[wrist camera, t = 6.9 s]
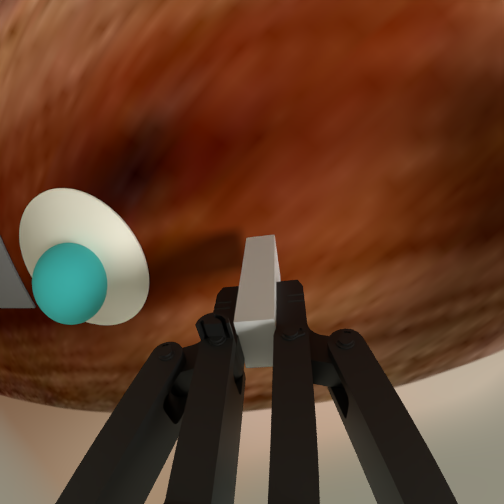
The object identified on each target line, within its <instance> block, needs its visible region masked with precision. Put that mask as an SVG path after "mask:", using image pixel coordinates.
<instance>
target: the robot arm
mask: <svg viewBox="0 0 504 504" xmlns="http://www.w3.org/2000/svg"><path fill="white" fill-rule="evenodd" d="M196 328H197V331H198V333H199V336H200V339H201V341H200V342H199V343H197V344H194V345H191V346H188V347H184V348H182V347H181V346H180V345H179V344H178V343H175V342H166V343H163V344H161V345H159V346H157V347H156V348H155V349H154V350H153V352H152V353H151V355H150V356H149V358H148V359H147V361H146V362H145V364H144V365H143V367H142V368H141V370H140V371H139V373H138V374H137V376H136V377H135V379H134V380H133V382H132V383H131V385H130V386H129V388H128V389H127V391H126V393H125V394H124V396H123V397H122V399H121V400H120V402H119V403H118V405H117V406H116V408H115V409H114V411H113V413H112V414H111V416H110V417H109V419H108V420H107V422H106V423H105V425H104V427H103V428H102V430H101V431H100V433H99V434H98V436H97V437H96V439H95V441H94V442H93V444H92V445H91V447H90V449H89V450H88V452H87V453H86V455H85V456H84V458H83V460H82V461H81V463H80V465H79V466H78V468H77V469H76V471H75V473H74V474H73V476H72V478H71V479H70V481H69V482H68V484H67V486H66V487H65V489H64V490H63V492H62V494H61V495H60V497H59V499H58V500H57V502H56V503H55V504H144V503H145V501H146V499H147V497H148V495H149V493H150V491H151V489H152V487H153V485H154V483H155V481H156V479H157V478H158V476H159V474H160V472H161V470H162V468H163V466H164V464H165V462H166V460H167V458H168V456H169V454H170V452H171V450H172V448H173V446H174V444H175V442H176V440H177V438H178V442H177V446H176V450H175V455H174V460H173V465H172V469H171V474H170V479H169V484H168V489H167V494H166V499H165V502H164V504H234V496H235V485H236V474H237V464H238V453H239V443H240V432H241V421H242V411H243V400H244V389H245V373H244V362H245V365H246V368H256V367H272V366H273V380H272V415H271V445H270V446H271V447H270V468H269V491H268V504H320V500H319V499H320V497H319V471H318V450H317V433H316V417H315V402H314V389H313V384H317V385H323V386H328V389H329V392H330V394H331V396H332V399H333V401H334V403H335V405H336V408H337V410H338V412H339V415H340V417H341V419H342V421H343V424H344V426H345V429H346V431H347V433H348V435H349V438H350V440H351V442H352V445H353V447H354V449H355V452H356V454H357V456H358V458H359V461H360V463H361V466H362V468H363V470H364V473H365V475H366V478H367V480H368V482H369V485H370V487H371V489H372V492H373V494H374V497H375V499H376V501H377V504H458V503H457V501H456V499H455V497H454V495H453V493H452V492H451V490H450V488H449V486H448V484H447V482H446V480H445V478H444V476H443V474H442V472H441V471H440V469H439V467H438V465H437V463H436V461H435V459H434V458H433V456H432V454H431V452H430V450H429V448H428V447H427V445H426V443H425V441H424V439H423V438H422V436H421V434H420V433H419V431H418V429H417V427H416V425H415V424H414V422H413V420H412V418H411V417H410V415H409V413H408V411H407V410H406V408H405V406H404V404H403V403H402V401H401V399H400V398H399V396H398V394H397V393H396V391H395V389H394V388H393V386H392V384H391V383H390V381H389V379H388V378H387V376H386V374H385V373H384V371H383V369H382V368H381V366H380V364H379V363H378V361H377V360H376V358H375V356H374V355H373V353H372V351H371V350H370V348H369V347H368V345H367V343H366V342H365V340H364V339H363V337H362V336H361V335H360V334H359V333H358V332H357V331H354V330H352V329H340V330H337V331H335V332H333V333H332V334H331V335H330V336H324V335H319V334H316V333H314V332H313V331H312V330H310V328H309V327H308V325H307V318H306V309H305V301H304V292H303V286H302V284H301V283H300V282H299V281H298V280H290V281H281V282H280V271H279V264H278V257H277V250H276V242H275V235H267V236H258V237H249V238H247V239H246V245H245V252H244V258H243V264H242V271H241V277H240V284H239V286H236V287H225V288H222V290H221V291H220V292H219V293H218V295H217V298H216V304H215V307H214V311H213V313H209V314H206V315H204V316H202V317H201V318H200V319H199V320H198V321H197V323H196ZM178 436H179V437H178Z"/></svg>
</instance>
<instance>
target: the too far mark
mask: <svg viewBox="0 0 504 504" xmlns="http://www.w3.org/2000/svg"><path fill="white" fill-rule="evenodd" d="M35 307H36V306H35V304H34V303H33V301H32V299H31V297H30V295H29V294H28V292H27V290H26V288H25V286H24V284H23V282H22V281H21V279H20V277H19V275H18V273H17V271H16V269H15V267H14V265H13V263H12V261H11V258H10V256H9V254H8V252H7V250H6V248H5V245H4V243H3V241H2V239H1V236H0V308H35Z"/></svg>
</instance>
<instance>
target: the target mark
mask: <svg viewBox="0 0 504 504" xmlns="http://www.w3.org/2000/svg"><path fill="white" fill-rule="evenodd" d="M19 241H20V248H21V252H22V256H23V259H24V262H25V265H26V267H27V269H28V271H29V273H30V275H31V277H32V276H33V271H34V268H35V265H36V263H37V261H38V259H39V258H40V257H41V255H42V254H43V253H44V252H45V251H47V250H48V249H49V248H51V247H53V246H55V245H57V244H61V243H76V244H80V245H83V246H85V247H87V248H88V249H90V250H91V251H92V252H93V253H95V255H96V256H97V257H98V258H99V259H100V261H101V262H102V264H103V266H104V269H105V272H106V276H107V294H106V298H105V301H104V303H103V305H102V307H101V308H100V310H99V311H98V312H97V313H96V314H95V315H94V316H93V317H92V318H91V319H89V320H87V321H85V322H88V323H92V324H97V325H116V324H120V323H123V322H126V321H128V320H129V319H131V318H133V317H134V316H135V315H136V314H137V313H138V312H139V311H140V310H141V308H142V307H143V305H144V303H145V301H146V299H147V295H148V292H149V271H148V265H147V262H146V258H145V255H144V253H143V250H142V248H141V246H140V244H139V242H138V240H137V238H136V237H135V235H134V233H133V232H132V231H131V229H130V228H129V226H128V225H127V224H126V223H125V221H124V220H123V219H122V218H121V217H120V216H119V215H118V214H117V213H116V212H115V211H114V210H113V209H112V208H110V207H109V206H108V205H106V204H105V203H104V202H103V201H101V200H99V199H98V198H96V197H94V196H92V195H90V194H88V193H86V192H83V191H80V190H76V189H71V188H55V189H50V190H47V191H45V192H43V193H41V194H39V195H38V196H36V197H35V198H34V199H33V200H32V201H31V202H30V203H29V204H28V206H27V207H26V209H25V211H24V213H23V215H22V219H21V222H20V229H19Z"/></svg>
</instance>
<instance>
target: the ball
mask: <svg viewBox="0 0 504 504" xmlns="http://www.w3.org/2000/svg"><path fill="white" fill-rule="evenodd" d="M32 289H33V294H34V297H35V300H36V302H37V304H38V306H39V307H40V309H41V310H42V311H43V312H44V313H45V314H46V315H47V316H48V317H49V318H51V319H52V320H54V321H56V322H59V323H62V324H68V325H74V324H80V323H83V322H85V321H87V320H89V319H91V318H92V317H93V316H94V315H95V314H96V313H97V312H98V311H99V310H100V308H101V307H102V305H103V303H104V301H105V298H106V294H107V276H106V272H105V269H104V266H103V264H102V262H101V261H100V259H99V258H98V257H97V256H96V255H95V253H93V252H92V251H91V250H90V249H88V248H87V247H85V246H83V245H80V244H76V243H61V244H57V245H55V246H53V247H51V248H49V249H48V250H47V251H45V252H44V253H43V254H42V255H41V257H40V258H39V259H38V261H37V263H36V265H35V268H34V271H33V276H32Z"/></svg>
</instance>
